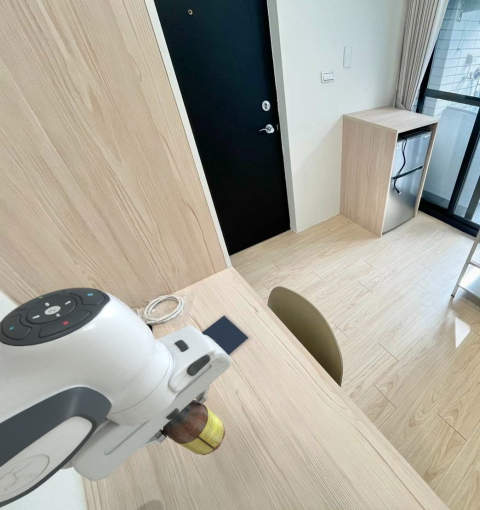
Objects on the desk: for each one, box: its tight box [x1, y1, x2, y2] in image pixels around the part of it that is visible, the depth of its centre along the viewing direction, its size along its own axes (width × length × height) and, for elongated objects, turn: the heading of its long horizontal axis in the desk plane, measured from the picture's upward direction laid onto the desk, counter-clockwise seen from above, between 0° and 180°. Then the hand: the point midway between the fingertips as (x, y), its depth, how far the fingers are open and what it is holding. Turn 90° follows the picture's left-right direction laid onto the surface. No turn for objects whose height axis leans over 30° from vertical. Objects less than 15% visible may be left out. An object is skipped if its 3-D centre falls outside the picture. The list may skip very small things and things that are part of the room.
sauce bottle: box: [162, 399, 226, 456], centre depth 46 cm, size 7×6×20 cm
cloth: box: [201, 315, 249, 356], centre depth 77 cm, size 16×12×1 cm
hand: (183, 417), depth 44 cm, fingers closed on sauce bottle, 6 cm apart
